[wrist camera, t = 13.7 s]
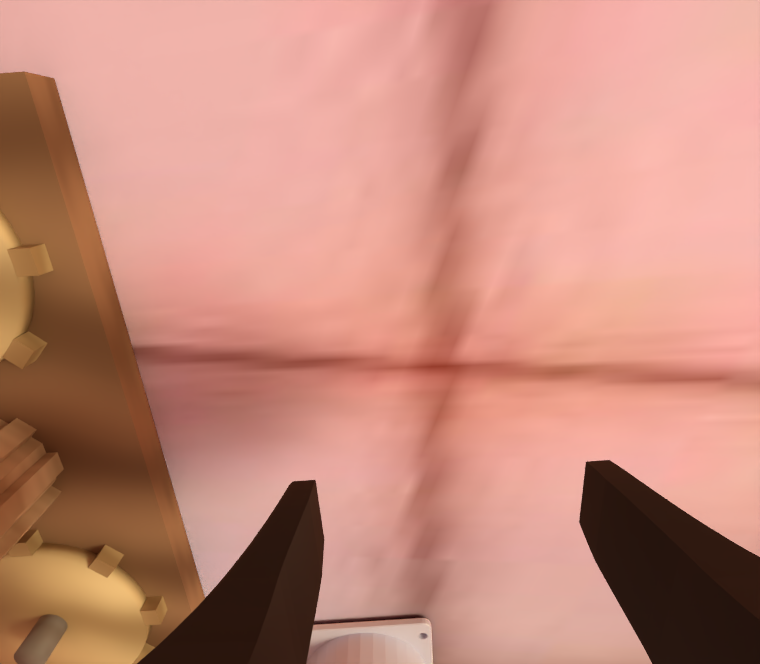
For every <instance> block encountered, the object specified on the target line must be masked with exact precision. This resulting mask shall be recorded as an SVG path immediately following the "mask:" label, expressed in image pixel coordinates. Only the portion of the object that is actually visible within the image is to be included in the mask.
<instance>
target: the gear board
mask: <svg viewBox="0 0 760 664" xmlns="http://www.w3.org/2000/svg"><path fill="white" fill-rule="evenodd" d="M16 418H18V419H20V420H21V421H23V422H25V423H26V424H28V425H30V426H32V427H33V428H35V429H37V430H36V431H35V433H34V434H33V436H32V438H34V439H36V440H37V441H39V442H41V443H42V444H43V446H44V449H45V451H46V453H54V452H58V455H59V458H60V460H61V463H62V465H63V468H64V469H63V471H62V472H61V473H60V474H59V475H58V476H57V477H56V480H55V482H54V483H53V484H52V486H53V487H54V488H56V489H58V490H60V491H62V492H61V493H60V494H59V496H58V497H57V498H56V499H55V501H54V502H53V503H52V504H51V506H50V507H49V508H48V509H47V510H46V511H45V512H44V513H43V514H42V515H41V517H40V518H39V519H38V520H37V521H36V522H35V523H34V524H33V525H32V526H31V528H30V529H29V530H28V531H27V532H26V533H25V534H24V535H23V536H22V537H21V539H20V540H19V541H18V542H17V543H16V544H15V545H14V546H13V547H12V548H11V550H10V551H9V552H8V553H7V554H6V555H5V556H4V557H3V558H2V559H1V560H0V664H137V663H138V662H139V661H140V660H141V659H143V658H144V657H145V656H146V655H147V654H148V653H150V652H151V651H152V650H153V649H154V648H155V647H156V646H158V645H159V644H160V643H161V642H162V641H163V640H164V639H165V638H166V637H167V636H168V635H169V634H170V633H171V632H173V631H174V630H175V629H176V628H177V627H178V626H179V625H180V624H181V623H182V622H183V621H184V620H185V619H186V618H187V617H188V616H189V615H190V614H191V613H192V612H193V611H194V610H195V609H196V608H197V607H198V605H199V604H200V603H201V602H202V601H203V600H204V599H205V597H204V593H203V590H202V586H201V583H200V580H199V576H198V573H197V569H196V566H195V562H194V559H193V555H192V552H191V549H190V545H189V542H188V538H187V535H186V531H185V528H184V524H183V521H182V518H181V514H180V511H179V507H178V504H177V500H176V497H175V493H174V490H173V487H172V483H171V480H170V476H169V473H168V469H167V466H166V462H165V459H164V456H163V452H162V449H161V445H160V442H159V438H158V435H157V431H156V428H155V424H154V421H153V418H152V414H151V411H150V407H149V404H148V400H147V397H146V393H145V390H144V387H143V383H142V380H141V376H140V373H139V369H138V366H137V362H136V359H135V356H134V352H133V349H132V345H131V342H130V338H129V335H128V331H127V328H126V325H125V321H124V318H123V314H122V311H121V307H120V304H119V300H118V297H117V294H116V290H115V287H114V283H113V280H112V276H111V273H110V269H109V266H108V262H107V259H106V256H105V252H104V249H103V245H102V242H101V238H100V235H99V231H98V228H97V225H96V221H95V218H94V214H93V211H92V207H91V204H90V200H89V197H88V194H87V190H86V187H85V183H84V180H83V176H82V173H81V169H80V166H79V163H78V159H77V156H76V152H75V149H74V145H73V142H72V138H71V135H70V132H69V128H68V125H67V121H66V118H65V114H64V111H63V107H62V104H61V100H60V97H59V94H58V90H57V87H56V83H55V80H54V78H49V77H45V76H41V75H37V74H32V73H28V72H14V73H1V74H0V419H1V420H3V421H5V422H6V423H8V424H9V423H11V422H12V421H13V420H15V419H16Z"/></svg>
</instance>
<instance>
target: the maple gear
mask: <svg viewBox="0 0 760 664" xmlns="http://www.w3.org/2000/svg"><path fill="white" fill-rule="evenodd" d="M36 430H37V429H35V428H33V427H32V426H30V425H28V424H26V423H25V422H23V421H21V420H20V419H18V418H16V419H15V420H13V421H12V422H11V423H9V424H8V423H6V422H5V421H3V420H1V419H0V560H1V559H2V558H3V557H4V556H5V555H6V554H7V553H8V552H9V551H10V550H11V548H12V547H13V546H14V545H15V544H16V543H17V542H18V541H19V540H20V539H21V537H22V536H23V535H24V534H25V533H26V532H27V531H28V530H29V529H30V528H31V526H32V525H33V524H34V523H35V522H36V521H37V520H38V519H39V518H40V517H41V515H42V514H43V513H44V512H45V511H46V510H47V509H48V508H49V507H50V506H51V504H52V503H53V502H54V501H55V499H56V498H57V497H58V496H59V494H60V493H61V492H62V491H60V490H58V489H56V488H54V487H53V486H52V484H53V483H54V482H55V480H56V477H57V476H58V475H59V474H60V473H61V472H62V471H63V469H64V468H63V465H62V463H61V460H60V458H59V455H58V452H54V453H46V451H45V449H44V446H43V444H42V443H41V442H39V441H37V440H36V439H34V438H32V436H33V434H34V433H35V431H36Z"/></svg>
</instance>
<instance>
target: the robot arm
mask: <svg viewBox="0 0 760 664" xmlns="http://www.w3.org/2000/svg"><path fill="white" fill-rule="evenodd" d="M579 523H580V525H581V528H582V530H583V533H584V535H585V538H586V540H587V543H588V545H589V548H590V550H591V552H592V554H593V557H594V559H595V561H596V563H597V565H598V567H599V569H600V570H601V572H602V574H603V576H604V578H605V579H606V581H607V583H608V585H609V587H610V588H611V590H612V592H613V594H614V595H615V597H616V599H617V601H618V602H619V604H620V606H621V608H622V610H623V611H624V613H625V615H626V617H627V618H628V620H629V622H630V624H631V625H632V627H633V629H634V631H635V632H636V634H637V636H638V638H639V640H640V641H641V643H642V645H643V647H644V648H645V650H646V652H647V654H648V656H649V658H650V660H651V662H652V664H760V557H759V556H757V555H755V554H753V553H751V552H749V551H748V550H746V549H744V548H742V547H741V546H739V545H737V544H735V543H734V542H732V541H730V540H729V539H727V538H726V537H724V536H722V535H721V534H719V533H717V532H716V531H714V530H713V529H711V528H709V527H708V526H706V525H704V524H703V523H701V522H700V521H698V520H697V519H695V518H694V517H692V516H690V515H689V514H687V513H686V512H684V511H683V510H681V509H680V508H678V507H677V506H675V505H674V504H672V503H671V502H669V501H668V500H667V499H665V498H664V497H662V496H661V495H659V494H658V493H656V492H655V491H654V490H652V489H651V488H649V487H648V486H646V485H645V484H644V483H642V482H641V481H639V480H638V479H636V478H635V477H634V476H632V475H631V474H629V473H628V472H626V471H625V470H623V469H622V468H621V467H619V466H618V465H616V464H614V463H613V462H611V461H610V460H604V461H590V462H586V467H585V476H584V485H583V494H582V503H581V511H580V520H579ZM323 550H324V534H323V528H322V521H321V514H320V508H319V501H318V494H317V487H316V481H315V480H308V481H294V482H292V483H291V484H290V485H289V486H288V488H287V490H286V491H285V493H284V495H283V496H282V498H281V499H280V501H279V503H278V504H277V506H276V507H275V509H274V510H273V512H272V513H271V515H270V516H269V518H268V519H267V521H266V522H265V524H264V525H263V527H262V528H261V529H260V531H259V532H258V534H257V535H256V536H255V538H254V539H253V541H252V542H251V543H250V545H249V546H248V547H247V549H246V550H245V551H244V553H243V554H242V555H241V556H240V558H239V559H238V560H237V561H236V563H235V564H234V565H233V567H232V568H231V569H230V570H229V572H228V573H227V574H226V575H225V576H224V578H223V579H222V580H221V581H220V582H219V583H218V585H217V586H216V587H215V588H214V589H213V590H212V591H211V592H210V594H209V595H208V596H207V597H206V598H205V599H204V600H203V601H202V602H201V603H200V604H199V605H198V607H197V608H196V609H195V610H194V611H193V612H192V613H191V614H190V615H189V616H188V617H187V618H186V619H185V620H184V621H183V622H182V623H181V624H180V625H179V626H178V627H177V628H176V629H175V630H174V631H173V632H171V633H170V634H169V635H168V636H167V637H166V638H165V639H164V640H163V641H162V642H161V643H160V644H159V645H158V646H156V647H155V648H154V649H153V650H152V651H151V652H150V653H148V654H147V655H146V656H145V657H144V658H143V659H141V660H140V661H139V662H138V663H137V664H433V655H432V631H431V623H430V621H429V620H428V619H426V618H411V619H396V620H380V621H364V622H349V623H333V624H318V625H313V624H314V619H315V613H316V607H317V602H318V596H319V590H320V584H321V578H322V566H323Z"/></svg>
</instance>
